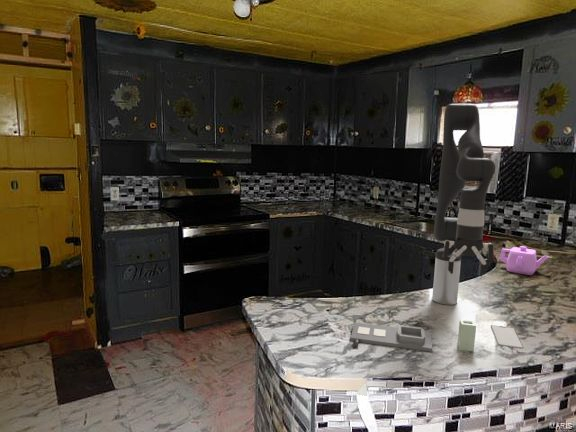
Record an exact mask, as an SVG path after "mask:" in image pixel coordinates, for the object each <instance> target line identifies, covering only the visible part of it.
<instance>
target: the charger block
mask: <svg viewBox="0 0 576 432" xmlns="http://www.w3.org/2000/svg"><path fill="white" fill-rule="evenodd" d="M476 330H477V324H476V322H475V320H471V319H462V318H460V319H459V323H458V334H457V336H458V337H457V348H458V349H459V350H461V351H462V350H463V351H468V352H474V351H475V342H476V332H477V331H476Z"/></svg>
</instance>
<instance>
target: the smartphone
mask: <svg viewBox="0 0 576 432" xmlns="http://www.w3.org/2000/svg"><path fill="white" fill-rule="evenodd" d="M490 330H491V331H492V334H493V337H494V339H495V342H496V344H497V345H498V346H501V347H511V348H515V349H516V348H517V349H524V348H525V346H524V344H523V342H522V340H521V339H520V337H519V335H518V333H517V331H516V329H515V328H513V327H509V326H501V325H500V326H499V325H493V324H492V325H490Z"/></svg>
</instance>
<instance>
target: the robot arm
mask: <svg viewBox="0 0 576 432" xmlns="http://www.w3.org/2000/svg"><path fill="white" fill-rule="evenodd" d="M454 131H465V132H464V133H463V134H461V136H460V137H459V139H458V142H457V143H456V140H455V138H454ZM442 133H443V135H442V136H443V138H442V154H441V161H440V171H439V178H438V179H439V182H438V194H437V195H438V199H437V205H436V206H437V208H436V212H435V218H434V226H433V237H434V239H435V240H436V241H439V242H444V244H443V247H441V248H439V249H437V250H436V252H435V261H434V262H435V263H434V273H433V274H434V276H433V286H432V297H431V299H432V301H433V302H435V303H438V304H440V305H446V306H447V305H451V306H452V305H456V304H458V296H459V295H458V294H459V285H460V284H459V283H460V275H461V262H462V256H464V257H466V256H468V257H474V256H476V257H477V259H478V260H479V267H478V276H479V277H483V275H485V273H486V265H487V264H492V263H494V245H493V244H492V243H491V242H487V243H486V242H485V243H484V242H483V234H484V225H485V206H486V196H487V192H488V189H489V186H490V184H491V182H492V180H493V178H494V175H495V171H496V165H495V163H494V161H493V160H492V159H491V158H487V157H484V156H485V153H484V152H485V151H484V149H483V145H482V144H483V143H482V140H481V125H480V111H479V108H478V106H477V105H476V104H474V103H450V104H447V106H446V107H445V110H444V115H443V132H442ZM466 182H478V184H477V185H476V186H474V187H473V188H472V187H470V188H467V189H466V188H465V186H466ZM464 188H465V189H464ZM459 195H460V197H459V208H458V213H457V217H447V216H446V214H447V211H448V209H449V208H450V206H451V204H452V203H453V202H454V200H455V199H456V198H457V197H458V196H459ZM483 248H484V250H486V258H484V257H483V256H482V254H481V253H480V251H481V250H482V249H483Z"/></svg>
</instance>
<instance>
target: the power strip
mask: <svg viewBox="0 0 576 432" xmlns="http://www.w3.org/2000/svg"><path fill="white" fill-rule="evenodd" d="M353 323H354V324H353V328H352V331H351V335H350V341H351V342H354V344H353V346H354V348H358V347H359V343H365V344H374V345H381V346H387V347H388V346H389V347H395V348H396V347H397V348H403V349H409V350H417V351H424V352H431V353H432V352H433V343H432V338H431V332H430V331H425V328H424V329H423V327H418V326H410V325H409V326H408V325H400V324H399V325H398V326H397V327H394V326H387V325H386V326H385V325H379V324H371V323H362V322H353Z"/></svg>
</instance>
